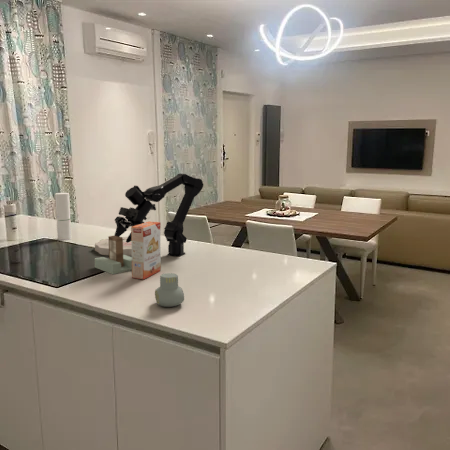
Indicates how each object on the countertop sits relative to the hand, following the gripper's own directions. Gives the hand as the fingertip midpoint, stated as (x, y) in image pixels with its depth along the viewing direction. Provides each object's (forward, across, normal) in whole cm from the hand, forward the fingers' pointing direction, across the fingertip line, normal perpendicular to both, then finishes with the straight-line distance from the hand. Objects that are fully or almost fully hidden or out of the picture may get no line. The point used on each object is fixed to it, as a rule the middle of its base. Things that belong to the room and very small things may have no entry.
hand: (120, 240), depth 192 cm
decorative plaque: (-6, -26, +23) cm, 36 cm away
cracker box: (+8, +17, +9) cm, 21 cm away
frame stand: (+10, 0, +6) cm, 12 cm away
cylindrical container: (+1, -70, +16) cm, 72 cm away
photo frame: (+9, 0, +6) cm, 11 cm away
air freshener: (+18, +50, -2) cm, 53 cm away
